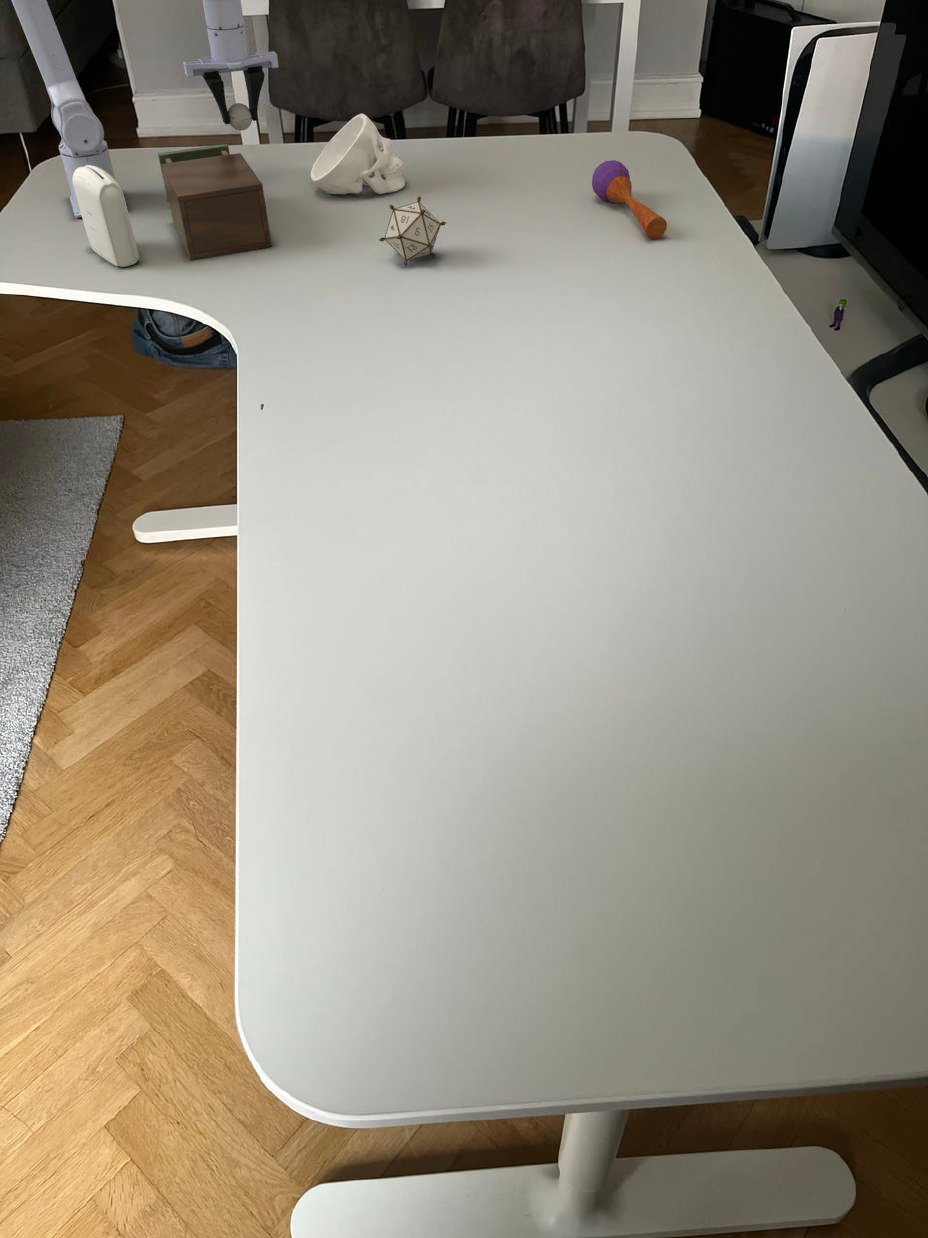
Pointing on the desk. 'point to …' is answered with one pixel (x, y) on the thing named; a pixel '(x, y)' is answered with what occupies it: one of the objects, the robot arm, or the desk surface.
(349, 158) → the skull bowl
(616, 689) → the desk surface
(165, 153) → the drawer
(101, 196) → the photo printer
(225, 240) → the cabinet
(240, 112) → the golf ball
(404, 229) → the game die
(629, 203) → the purple and orange maraca
